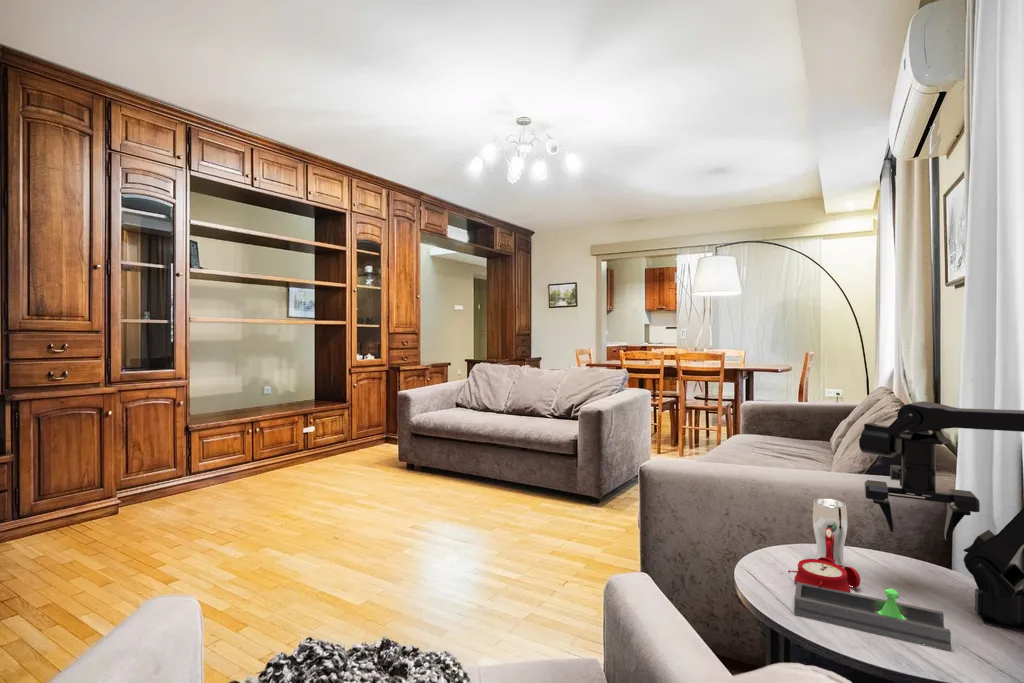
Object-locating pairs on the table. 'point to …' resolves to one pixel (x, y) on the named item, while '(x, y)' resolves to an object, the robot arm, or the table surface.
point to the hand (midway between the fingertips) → (918, 535)
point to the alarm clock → (826, 574)
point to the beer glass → (830, 528)
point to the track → (872, 615)
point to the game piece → (891, 605)
